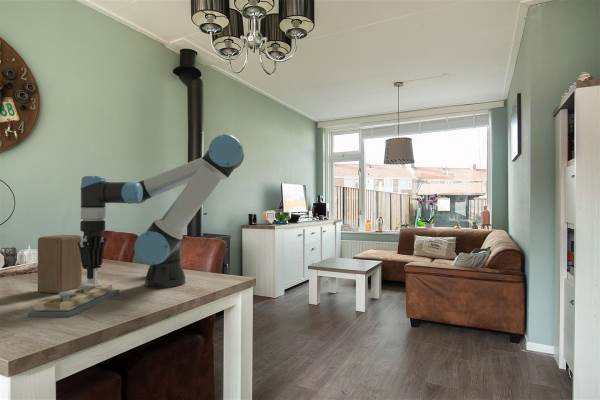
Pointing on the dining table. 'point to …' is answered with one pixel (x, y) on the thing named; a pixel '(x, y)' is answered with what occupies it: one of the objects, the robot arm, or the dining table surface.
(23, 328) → the dining table surface
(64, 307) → the panel
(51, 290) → the wooden block
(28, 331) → the dining table surface
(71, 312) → the boss board
